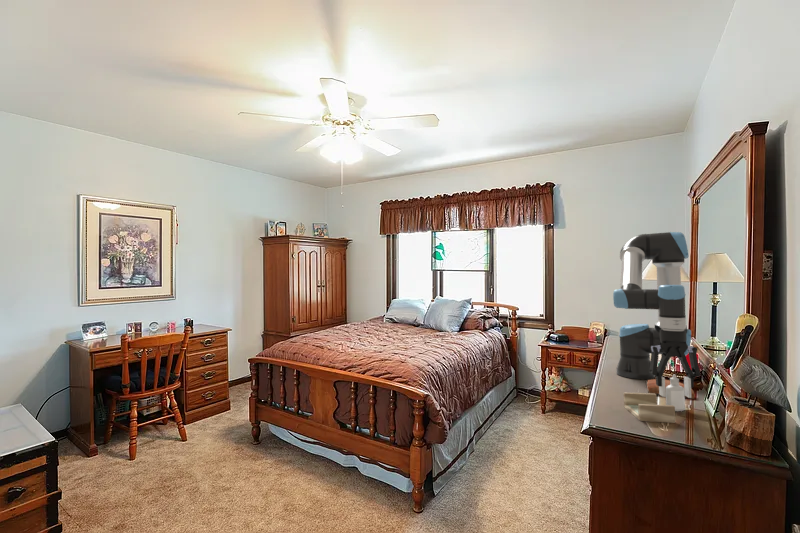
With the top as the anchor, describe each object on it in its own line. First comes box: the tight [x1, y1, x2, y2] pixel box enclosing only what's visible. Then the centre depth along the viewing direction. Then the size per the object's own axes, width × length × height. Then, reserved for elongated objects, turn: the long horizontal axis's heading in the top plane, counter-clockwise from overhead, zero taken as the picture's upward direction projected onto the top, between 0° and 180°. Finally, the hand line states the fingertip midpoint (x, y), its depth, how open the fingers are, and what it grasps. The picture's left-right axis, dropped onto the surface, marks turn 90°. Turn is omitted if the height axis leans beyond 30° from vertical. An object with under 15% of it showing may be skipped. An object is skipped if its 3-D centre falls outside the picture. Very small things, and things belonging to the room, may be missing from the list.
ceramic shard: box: [646, 378, 696, 400], centre depth 150 cm, size 15×6×15 cm
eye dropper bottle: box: [665, 373, 686, 412], centre depth 131 cm, size 4×6×12 cm
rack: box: [623, 392, 676, 424], centre depth 127 cm, size 13×10×5 cm
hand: (675, 396), depth 130 cm, fingers open, 7 cm apart
